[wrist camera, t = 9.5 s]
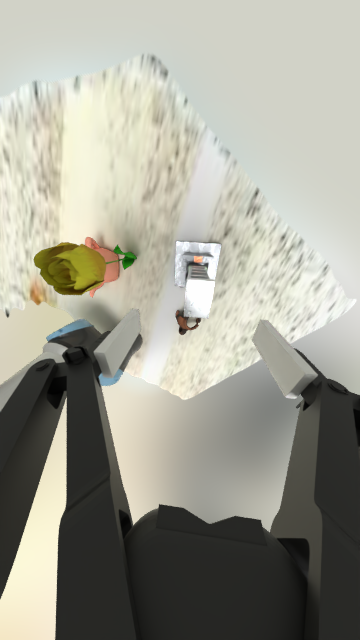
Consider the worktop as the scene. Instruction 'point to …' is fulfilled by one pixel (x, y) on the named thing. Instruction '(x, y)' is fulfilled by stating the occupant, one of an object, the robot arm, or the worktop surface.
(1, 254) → the worktop surface
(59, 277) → the flower
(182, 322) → the pottery mug
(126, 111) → the worktop surface
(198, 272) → the column
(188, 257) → the stand base
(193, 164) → the worktop surface
